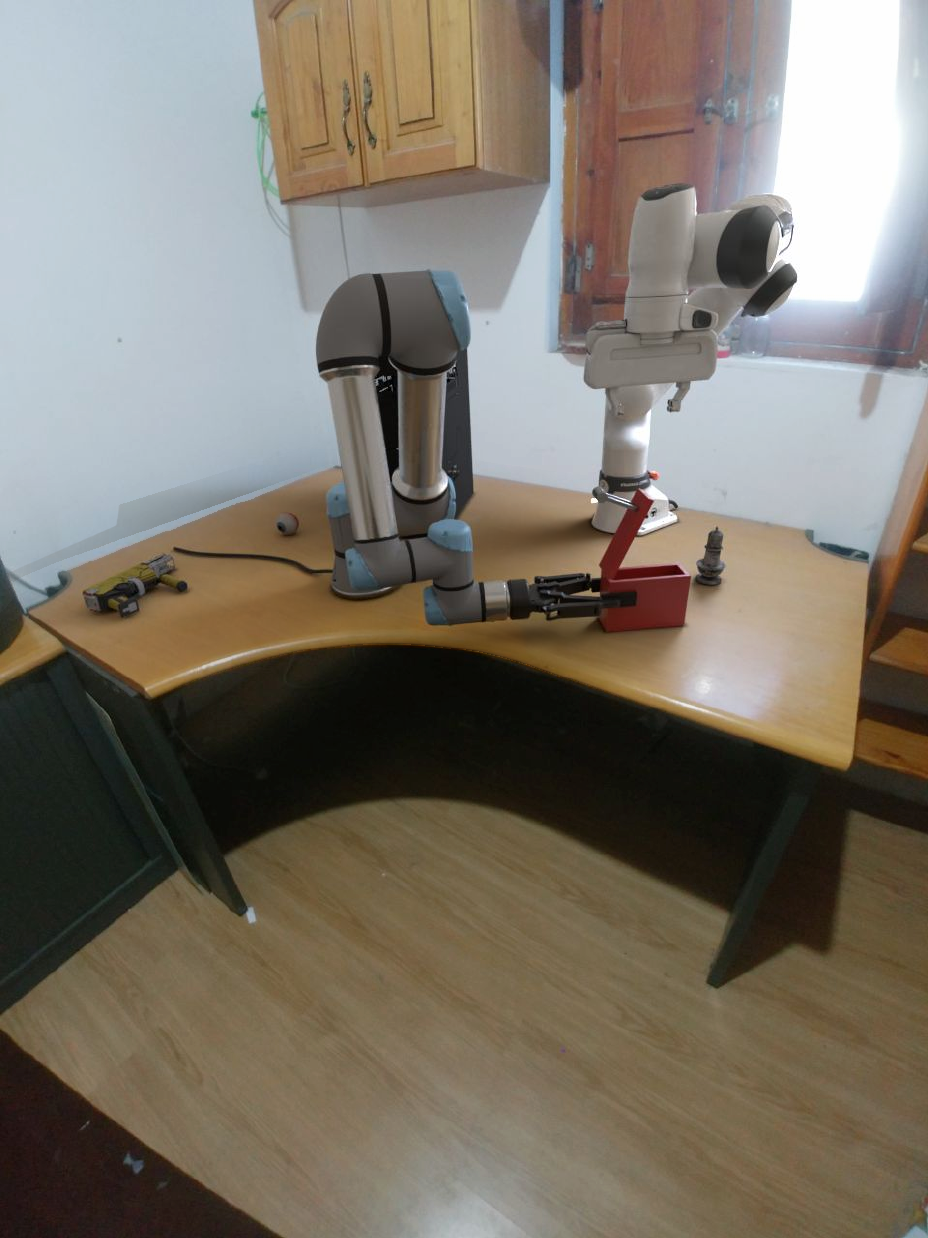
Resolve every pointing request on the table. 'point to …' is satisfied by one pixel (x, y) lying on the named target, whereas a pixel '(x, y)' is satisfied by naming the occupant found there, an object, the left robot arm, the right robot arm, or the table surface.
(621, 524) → the lid
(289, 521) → the eyeball
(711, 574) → the grey chess bishop
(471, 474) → the black tall block
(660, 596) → the chest
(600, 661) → the table surface
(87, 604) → the toy gun
